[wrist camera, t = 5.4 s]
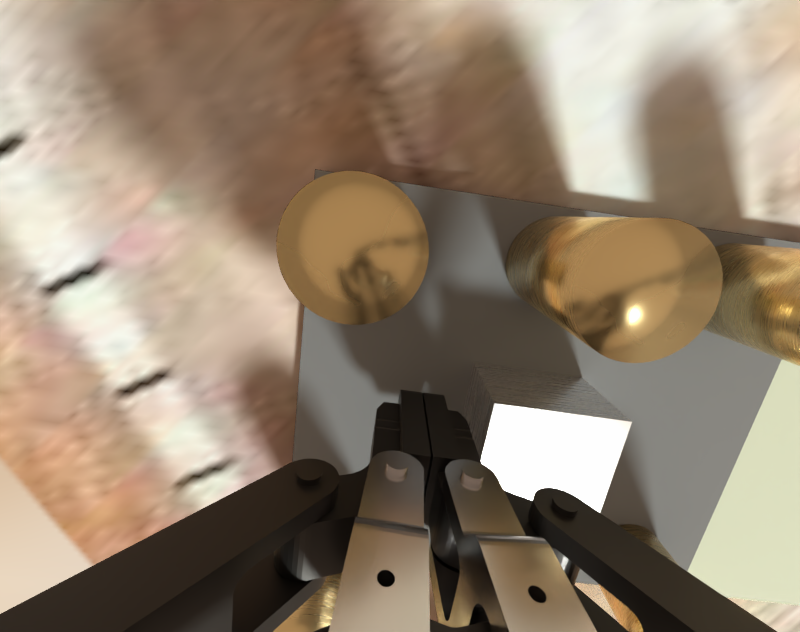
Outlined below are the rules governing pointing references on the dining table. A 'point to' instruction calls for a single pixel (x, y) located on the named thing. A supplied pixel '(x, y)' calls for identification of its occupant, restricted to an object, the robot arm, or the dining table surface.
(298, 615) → the spacers
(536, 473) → the white faced textured brick
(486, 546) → the robot arm
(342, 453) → the mat
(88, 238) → the dining table surface
